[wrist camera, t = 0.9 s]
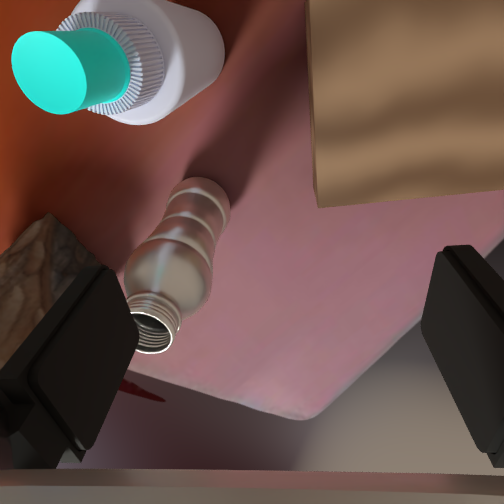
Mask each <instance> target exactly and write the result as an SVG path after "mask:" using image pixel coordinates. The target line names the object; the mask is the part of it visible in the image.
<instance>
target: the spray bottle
mask: <svg viewBox="0 0 504 504" xmlns="http://www.w3.org/2000/svg"><path fill="white" fill-rule="evenodd" d="M224 59H225V48H224V42H223V39H222V36H221V34H220V31H219V30H218V28H217V26H216V25H215V24H214V22H213V21H212V20H211V19H210V18H209V17H207V16H206V15H205V14H203V13H201V12H199V11H197V10H194V9H191V8H187V7H184V6H181V5H178V4H175V3H172V2H169V1H166V0H81V1H80V2H79V3H78V4H77V5H76V7H75V9H74V10H73V12H72V14H71V16H69V18H66V19H65V21H62V24H61V25H59V28H57V30H56V31H34V32H29V33H26V34H24V35H23V36H21V37H20V38H19V39H18V40H17V42H16V43H15V45H14V48H13V51H12V68H13V72H14V76H15V78H16V81H17V83H18V85H19V86H20V88H21V89H22V91H23V92H24V94H25V95H26V96H27V97H28V98H29V99H30V100H31V101H32V102H33V103H34V104H35V105H37V106H38V107H40V108H41V109H43V110H45V111H48V112H50V113H54V114H68V113H71V112H74V111H78V110H81V109H84V108H88V110H90V111H91V110H92V112H94V113H95V112H97V113H98V114H100V113H101V114H102V115H104V114H105V115H107V116H108V117H110V118H112V119H114V120H116V121H119V122H122V123H126V124H131V125H145V124H150V123H154V122H156V121H159V120H160V119H162V118H164V117H165V116H167V115H168V114H170V113H171V112H172V111H174V110H175V109H177V108H178V107H179V106H181V105H182V104H184V103H185V102H187V101H188V100H189V99H191V98H192V97H194V96H195V95H196V94H198V93H199V92H201V91H202V90H204V89H205V88H206V87H208V86H209V85H211V84H212V83H213V82H214V81H215V80H216V79H217V78H218V76H219V74H220V73H221V70H222V68H223V65H224Z"/></svg>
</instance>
